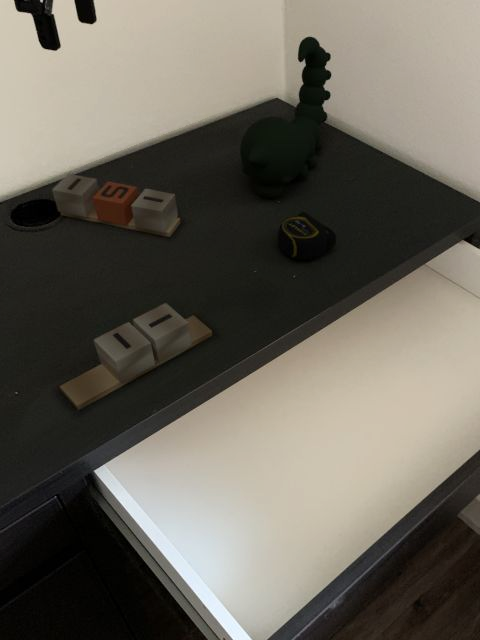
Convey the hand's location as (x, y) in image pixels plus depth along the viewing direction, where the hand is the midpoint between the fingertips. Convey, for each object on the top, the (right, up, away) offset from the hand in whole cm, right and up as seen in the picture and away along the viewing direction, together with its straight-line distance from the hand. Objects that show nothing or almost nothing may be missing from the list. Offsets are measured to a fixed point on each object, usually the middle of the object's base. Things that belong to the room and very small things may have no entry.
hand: (70, 35), depth 79 cm
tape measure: (+28, -22, +13) cm, 38 cm away
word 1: (+2, -18, +16) cm, 24 cm away
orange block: (+2, -17, +15) cm, 23 cm away
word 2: (+9, -39, -3) cm, 40 cm away
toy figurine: (+25, -8, +25) cm, 36 cm away
